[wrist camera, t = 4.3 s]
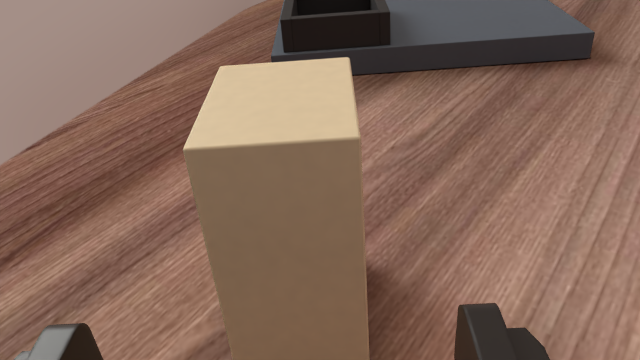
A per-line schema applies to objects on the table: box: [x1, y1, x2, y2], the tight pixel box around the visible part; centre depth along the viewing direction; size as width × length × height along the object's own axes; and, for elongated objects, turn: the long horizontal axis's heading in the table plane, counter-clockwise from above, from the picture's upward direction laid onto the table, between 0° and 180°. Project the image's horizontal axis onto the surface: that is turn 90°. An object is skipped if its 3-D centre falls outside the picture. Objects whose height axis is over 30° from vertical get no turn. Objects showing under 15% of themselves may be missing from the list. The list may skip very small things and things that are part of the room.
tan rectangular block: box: [183, 57, 370, 360], centre depth 18 cm, size 4×6×9 cm
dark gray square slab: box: [271, 0, 595, 75], centre depth 50 cm, size 24×23×4 cm
